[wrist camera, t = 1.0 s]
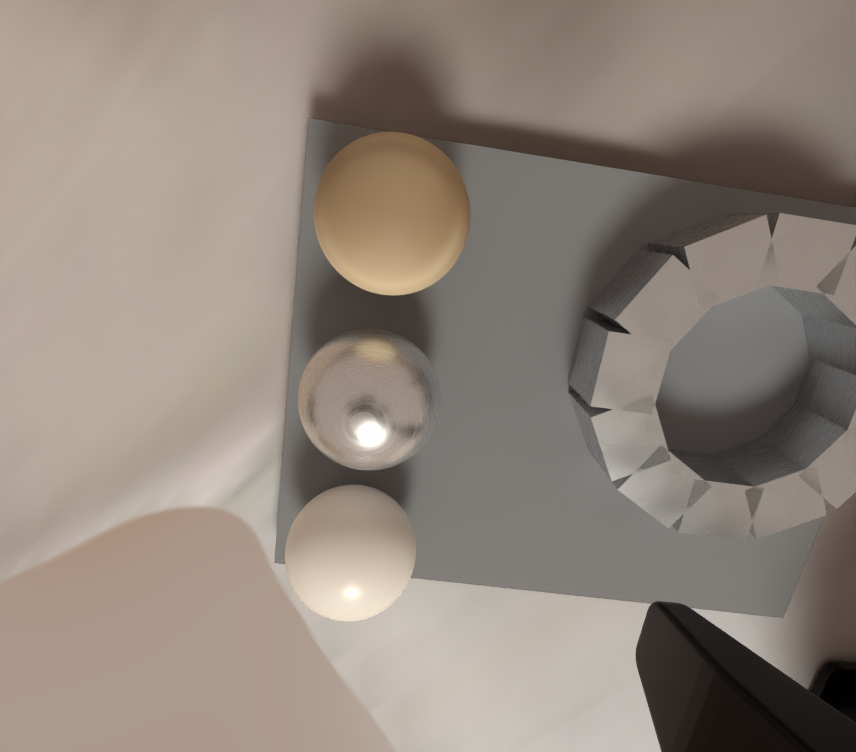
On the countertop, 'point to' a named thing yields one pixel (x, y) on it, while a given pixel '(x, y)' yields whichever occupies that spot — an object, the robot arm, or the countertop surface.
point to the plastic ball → (350, 552)
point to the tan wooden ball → (391, 213)
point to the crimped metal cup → (670, 321)
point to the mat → (555, 385)
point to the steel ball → (369, 399)
